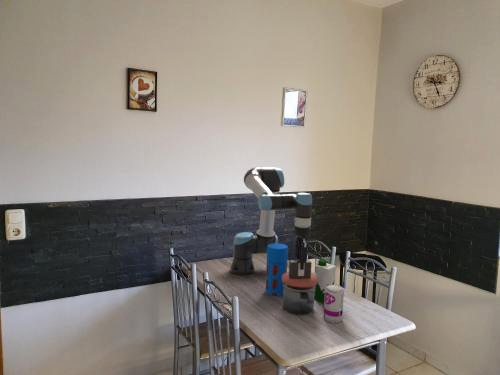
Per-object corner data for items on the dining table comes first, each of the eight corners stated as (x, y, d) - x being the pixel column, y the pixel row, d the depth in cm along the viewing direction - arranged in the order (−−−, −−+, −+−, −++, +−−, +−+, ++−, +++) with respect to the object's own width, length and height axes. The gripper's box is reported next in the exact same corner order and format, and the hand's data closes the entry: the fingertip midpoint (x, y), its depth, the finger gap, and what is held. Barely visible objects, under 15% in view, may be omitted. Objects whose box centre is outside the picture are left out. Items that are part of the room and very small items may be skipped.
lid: (278, 274, 183) (279, 256, 182) (311, 274, 185) (312, 255, 184) (286, 287, 166) (287, 267, 165) (322, 287, 169) (323, 267, 168)
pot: (277, 299, 187) (278, 276, 185) (307, 298, 189) (308, 276, 188) (287, 318, 166) (288, 293, 165) (320, 317, 168) (322, 292, 167)
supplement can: (332, 325, 162) (334, 292, 160) (319, 317, 169) (321, 285, 167) (345, 320, 166) (347, 289, 164) (332, 313, 173) (334, 282, 171)
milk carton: (320, 294, 195) (322, 257, 192) (335, 299, 189) (338, 262, 186) (311, 299, 188) (313, 261, 186) (326, 304, 182) (329, 265, 180)
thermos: (284, 297, 190) (286, 249, 187) (263, 294, 192) (265, 247, 189) (286, 289, 200) (289, 244, 197) (267, 286, 203) (269, 242, 200)
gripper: (290, 222, 180) (288, 268, 183) (299, 230, 164) (296, 280, 167) (305, 222, 181) (302, 268, 184) (315, 230, 165) (312, 280, 168)
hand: (299, 274), depth 176 cm, fingers closed on lid, 3 cm apart
